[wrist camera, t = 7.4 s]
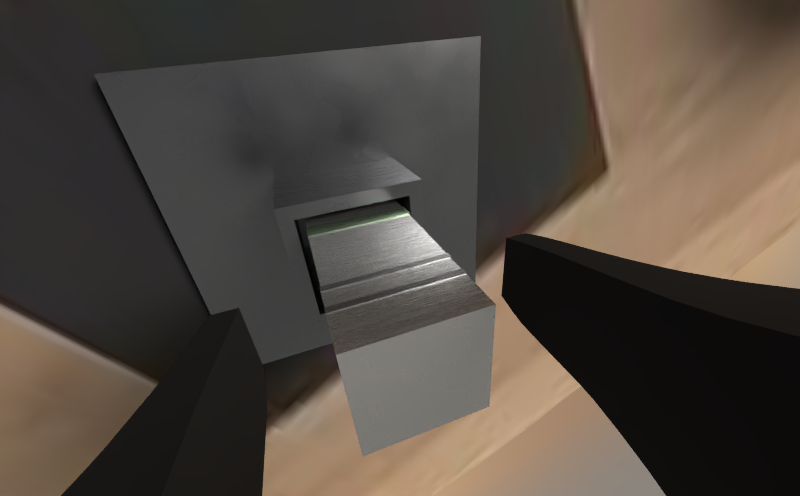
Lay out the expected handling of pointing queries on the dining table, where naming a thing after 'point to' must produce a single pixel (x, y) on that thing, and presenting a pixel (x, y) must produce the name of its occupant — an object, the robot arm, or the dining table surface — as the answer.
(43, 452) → the dining table surface
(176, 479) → the robot arm
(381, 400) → the column
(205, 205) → the stand
